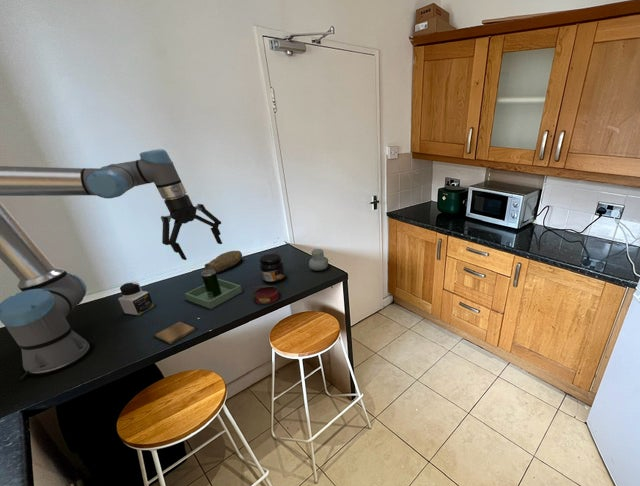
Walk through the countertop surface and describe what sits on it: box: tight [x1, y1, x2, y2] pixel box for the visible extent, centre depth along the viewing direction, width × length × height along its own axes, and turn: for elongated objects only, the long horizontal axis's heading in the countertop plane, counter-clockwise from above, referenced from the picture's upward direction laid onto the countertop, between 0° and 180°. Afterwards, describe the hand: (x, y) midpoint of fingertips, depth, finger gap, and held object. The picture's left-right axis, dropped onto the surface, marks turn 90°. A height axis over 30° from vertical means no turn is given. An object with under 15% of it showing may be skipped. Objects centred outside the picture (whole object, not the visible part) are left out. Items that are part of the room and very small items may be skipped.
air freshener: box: [308, 248, 329, 272], centre depth 161 cm, size 11×8×10 cm
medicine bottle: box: [117, 281, 155, 316], centre depth 126 cm, size 7×7×12 cm
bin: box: [184, 277, 243, 310], centre depth 138 cm, size 16×16×3 cm
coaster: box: [154, 321, 196, 344], centre depth 115 cm, size 9×9×1 cm
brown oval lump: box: [204, 250, 243, 274], centre depth 165 cm, size 13×8×20 cm
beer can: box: [200, 268, 221, 298], centre depth 136 cm, size 5×5×12 cm
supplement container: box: [258, 252, 286, 285], centre depth 150 cm, size 10×10×12 cm
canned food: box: [251, 284, 280, 305], centre depth 136 cm, size 11×10×10 cm
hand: (202, 251), depth 119 cm, fingers open, 13 cm apart
